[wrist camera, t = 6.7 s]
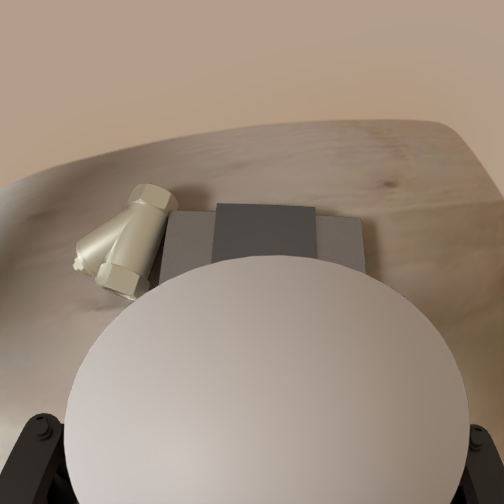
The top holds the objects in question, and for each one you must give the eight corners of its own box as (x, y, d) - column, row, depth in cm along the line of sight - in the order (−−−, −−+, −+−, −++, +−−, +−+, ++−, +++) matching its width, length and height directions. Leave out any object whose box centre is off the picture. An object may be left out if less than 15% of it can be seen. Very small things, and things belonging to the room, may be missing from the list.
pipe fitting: (82, 283, 23) (149, 306, 22) (55, 268, 19) (126, 292, 18) (116, 199, 26) (182, 211, 25) (96, 175, 22) (167, 184, 21)
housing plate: (156, 431, 18) (147, 437, 17) (175, 222, 24) (169, 210, 22) (355, 438, 18) (364, 445, 16) (353, 229, 24) (360, 218, 22)
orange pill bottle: (204, 436, 15) (86, 578, 2) (208, 339, 17) (81, 248, 4) (307, 439, 15) (433, 578, 2) (310, 342, 17) (463, 260, 4)
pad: (208, 301, 20) (207, 300, 20) (217, 205, 22) (216, 203, 22) (317, 305, 20) (318, 304, 19) (314, 209, 22) (315, 207, 22)
